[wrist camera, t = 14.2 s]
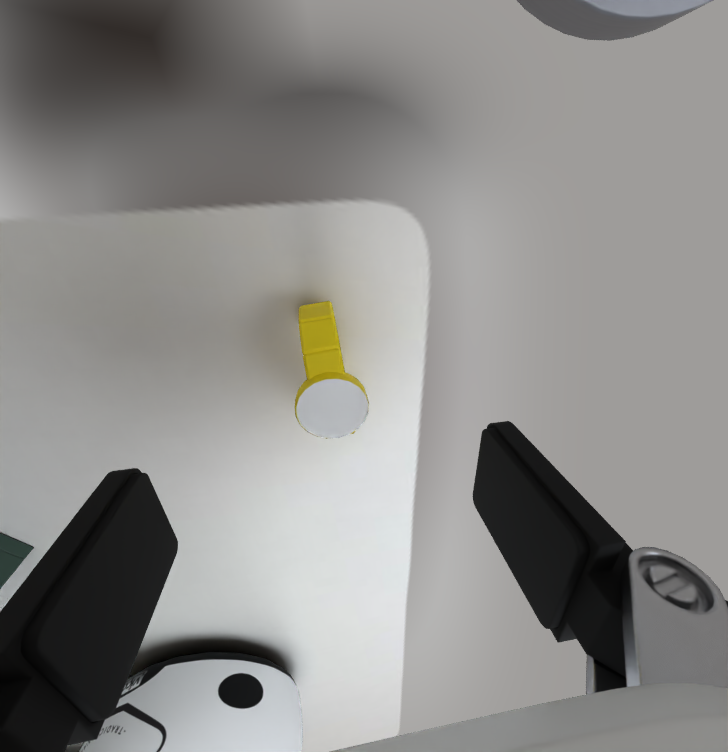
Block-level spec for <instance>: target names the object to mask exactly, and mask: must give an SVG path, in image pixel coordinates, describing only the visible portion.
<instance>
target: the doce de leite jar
mask: <svg viewBox="0 0 728 752" xmlns="http://www.w3.org/2000/svg"><path fill="white" fill-rule="evenodd" d="M302 738H303V728H302V712H301V703H300V696H299V691H298V689H297V686H296V684H295V682H294V680H293V678H292V677H291V675H290V674H289V673H288V672H287V671H286V670H285V669H284V668H282V667H280V666H278V665H276V664H274V663H272V662H271V661H269V660H268V659H265V658H261V657H256V656H251V655H248V654H243V653H223V652H207V653H200V654H194V655H185V656H179V657H175V658H172V659H169V660H167V661H164V662H161V663H157V664H154V665H151V666H149V667H147V668H145V669H144V670H142V671H141V672H139V673H137V674H136V675H134V676H132V677H131V678H129V679H128V680H127V681H126V684H125V687H124V689H123V692H122V694H121V697H120V699H119V702H118V704H117V707H116V709H115V711H114V712H113V714H112V715H111V716H110V717H109V718H107V719H105V721H104V723H103V726H102V728H101V731H100V733H99V735H98V738H97V739H96V740H91V741H87V742H83V744H82V746H81V748H80V751H79V752H302Z"/></svg>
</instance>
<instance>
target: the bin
mask: <svg viewBox="0 0 728 752" xmlns="http://www.w3.org/2000/svg"><path fill="white" fill-rule="evenodd" d="M32 549H33V547H32V546H29V545H27V544H24V543H22V542H20V541H17V540H15V539H13V538H10V537H8V536H6V535H3V534H1V533H0V588H1V587H2V586H3V585H4V583H5V582H6V581H7V580H8V579H9V577H10V576H11V575H12V574H13V572H14V571H15V570H16V569H17V568H18V566H19V565H20V564H21V563H22V561H23V560H24V559H25V558H26V557H27V555H28V554H29V553H30V552H31V550H32Z"/></svg>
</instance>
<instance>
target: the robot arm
mask: <svg viewBox="0 0 728 752" xmlns="http://www.w3.org/2000/svg"><path fill="white" fill-rule="evenodd" d="M473 501H474V505H475V507H476V509H477V511H478V512H479V514H480V516H481V518H482V519H483V521H484V523H485V525H486V526H487V528H488V530H489V532H490V534H491V536H492V537H493V539H494V541H495V543H496V545H497V546H498V548H499V550H500V552H501V553H502V555H503V557H504V559H505V561H506V562H507V564H508V566H509V568H510V569H511V571H512V573H513V575H514V577H515V579H516V580H517V582H518V584H519V586H520V587H521V589H522V591H523V593H524V595H525V596H526V598H527V600H528V602H529V603H530V605H531V607H532V609H533V610H534V612H535V614H536V616H537V618H538V619H539V621H540V623H541V624H542V625H543V626H544V627H545V628H546V629H550V630H551V631H552V633H553V635H554V637H555V638H556V640H557V642H563V641H567V640H573V639H577V640H578V641H579V643H580V644H581V646H582V647H583V649H584V651H585V652H586V654H587V671H586V672H587V673H586V695H582V696H577V697H572V698H568V699H562V700H558V701H553V702H548V703H542V704H538V705H533V706H529V707H525V708H520V709H516V710H511V711H507V712H502V713H498V714H494V715H489V716H485V717H480V718H476V719H471V720H467V721H462V722H458V723H453V724H449V725H445V726H440V727H436V728H431V729H427V730H422V731H418V732H413V733H410V734H405V735H400V736H396V737H392V738H387V739H383V740H379V741H374V742H370V743H366V744H361V745H357V746H353V747H348V748H344V749H339V750H335V751H331V752H728V601H726V600H725V599H724V597H723V595H722V593H721V591H720V589H719V588H718V587H717V586H716V584H715V583H714V582H713V581H712V580H711V579H710V577H709V576H707V575H706V574H705V573H704V572H703V571H702V570H700V569H699V568H698V567H697V566H695V565H694V564H692V563H691V562H689V561H687V560H686V559H684V558H683V557H680V556H678V555H676V554H673V553H671V552H669V551H666V550H662V549H658V548H654V547H642V548H639V549H635V550H634V551H633V550H632V549H631V548H630V547H629V546H628V545H627V544H626V543H625V542H626V541H625V540H624V539H623V538H622V537H621V536H620V535H619V534H618V533H617V532H616V531H615V530H614V529H613V528H612V527H611V526H610V525H609V524H608V523H607V522H606V520H604V518H603V517H602V516H601V515H600V514H599V513H598V512H597V511H596V510H595V509H594V508H593V507H592V506H591V505H590V504H589V503H588V502H587V501H586V500H585V499H584V498H583V496H582V495H581V494H580V493H579V492H578V491H577V490H576V489H575V488H574V487H573V486H572V485H571V484H570V483H569V482H568V481H567V480H566V479H565V478H564V477H563V476H562V475H561V474H560V472H559V471H558V470H557V469H556V468H555V467H554V466H553V465H552V464H551V463H550V462H549V461H548V460H547V459H546V458H545V457H544V456H543V455H542V454H541V453H540V452H539V450H537V448H536V447H535V446H534V445H533V444H532V443H531V442H530V441H529V440H528V439H527V438H526V437H525V436H524V435H523V434H522V433H521V432H520V431H519V430H518V429H517V428H516V426H515V425H514V424H512V423H511V422H509V421H506V422H498V423H490V424H489V425H488V426H487V429H484V430H483V431H482V436H481V443H480V450H479V457H478V463H477V470H476V476H475V483H474V490H473ZM177 549H178V541H177V538H176V536H175V534H174V531H173V529H172V527H171V525H170V523H169V520H168V518H167V516H166V514H165V512H164V509H163V507H162V505H161V503H160V501H159V498H158V496H157V494H156V492H155V490H154V487H153V485H152V483H151V481H150V479H149V476H148V475H147V474H146V473H141V471H140V470H139V469H136V468H133V469H125V470H118V471H112V472H109V473H108V474H107V475H106V476H105V478H104V479H103V480H102V482H101V483H100V484H99V485H98V487H97V488H96V489H95V491H94V492H93V493H92V495H91V496H90V497H89V498H88V500H87V501H86V502H85V504H84V505H83V506H82V507H81V509H80V510H79V511H78V513H77V514H76V515H75V516H74V518H73V519H72V520H71V522H70V523H69V524H68V525H67V527H66V528H65V529H64V531H63V532H62V533H61V535H60V536H59V537H58V538H57V540H56V541H55V542H54V544H53V545H52V546H51V547H50V549H49V550H48V551H47V553H46V554H45V555H44V556H43V558H42V559H41V560H40V562H39V563H38V564H37V565H36V567H35V568H34V569H33V571H32V572H31V573H30V575H29V576H28V577H27V578H26V580H25V581H24V582H23V584H22V585H21V586H20V587H19V589H18V590H17V591H16V593H15V594H14V595H13V596H12V598H11V599H10V600H9V602H8V603H7V604H6V605H5V607H4V608H3V609H2V611H1V612H0V752H64V751H65V749H66V747H67V745H72V744H77V743H82V742H87V741H91V740H96V739H97V738H98V735H99V733H100V731H101V728H102V726H103V723H104V721H105V719H107V718H109V717H110V716H111V715H112V714H113V712H114V711H115V709H116V707H117V704H118V702H119V699H120V697H121V694H122V692H123V689H124V687H125V684H126V681H127V679H128V676H129V674H130V671H131V669H132V666H133V664H134V661H135V658H136V656H137V653H138V651H139V648H140V646H141V643H142V641H143V638H144V636H145V633H146V630H147V628H148V625H149V623H150V620H151V618H152V615H153V613H154V610H155V607H156V605H157V602H158V600H159V597H160V595H161V592H162V590H163V587H164V584H165V582H166V579H167V577H168V574H169V572H170V569H171V567H172V564H173V561H174V559H175V556H176V554H177Z"/></svg>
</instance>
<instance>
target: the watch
mask: <svg viewBox="0 0 728 752" xmlns="http://www.w3.org/2000/svg"><path fill="white" fill-rule="evenodd" d="M299 331H300V339H301V347H302V353H303V355H304V356H303V360H304V366H305V371H306V376H307V380H306V381H304V383H303V384H302V385H301V387H300V388H299V389H298V392H297V395H296V399H295V415H296V418H297V420H298V422H299V424H300V425H301V426H302V427H303V428H304V429H305V430H306V431H307V432H309V433H311V434H313V435H315V436H317V437H323V438H326V439H327V438H340V437H343V436H346V435H349V434H353V433H354V432H355V430H357V429H358V428H359V427H360V426H361V425H362V424H363V422H364V421H365V419H366V416H367V414H368V408H369V402H368V398H367V395H366V392H365V389H364V387H363V385H362V384H361V383H360V382H359V380H358V379H357V378H355V377H353V376H352V375H350V374H348V373H345V371H344V365H343V360H342V354H341V349H340V344H339V338H338V333H337V328H336V322H335V317H334V312H333V306H332V303H331V302H330V301H326V302H320V303H314V304H308V305H302V306H300V308H299Z"/></svg>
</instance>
